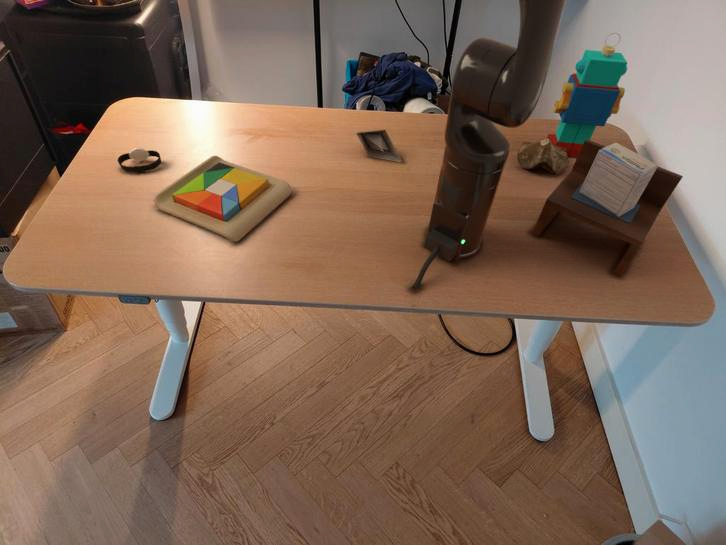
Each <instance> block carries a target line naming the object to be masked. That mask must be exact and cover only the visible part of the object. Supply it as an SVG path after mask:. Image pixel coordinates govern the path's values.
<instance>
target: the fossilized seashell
mask: <svg viewBox="0 0 726 545" xmlns="http://www.w3.org/2000/svg"><path fill="white" fill-rule="evenodd" d="M566 151H567V149H566V148H562V147H558V146H556V145H553V144H552V142H551V141H550V140H549V139H547V138H543V139H542V140H540V141H537V142H529V141H523V142H522V146H521V147H520V148H519V149H518V151H517V153H516V159H517V161H518V164H519V166H521V168H523V169H525V170H532V169H537V168H540V167H542V168H543V169H545V170H546V171H548V172H549V173H551V174H555V175H558V174H561V173H563V172H564V171H565V170H566V169H567V168H568V166H569V163H570V161H569V156H567V153H566Z"/></svg>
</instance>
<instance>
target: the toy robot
mask: <svg viewBox="0 0 726 545" xmlns="http://www.w3.org/2000/svg"><path fill="white" fill-rule="evenodd" d="M615 34H616V35H618V36H619V38H621V35H620V33H618V32H612V33H610V34H609V35H608V36H607V37H606V38H605V39H604V46H603V47H602V49H601V50H595V49H594V50H593V49H584V52H583V55H582V57H581V59H580V60H578V61H577V62H576V64H575V71H576V72H575V73H574V72H573V73H572V74H570V75H569V78H568V80H567V81H566V82H564V83H563V85H562V89H561V93H562V94H561V97H560V98H559V100H555V101H554V103H553V105H554V108H553V109H552V113H553V114H558V115H559V117H560V121H559V124H558V125H557V129H556V131H555V133H549V134H547V136H546V139H549V140H550V141H551V142H552V144H553V145H556V146H558V147H562V148H566V149H567V151H566V153H567V156H568V157H574V158H577V157H578V155H579V152H580V150H581V148H582V146H583V143H584V141H585V140H586V139H587V140H590V141H591V139H592V136H593V134H594V133H595V129H596V127H605V125H606V124H607V122H608V120H609V118H611V116H612V115H613V114H614V115H617V114H618V113H619V110H620V104H621V100H622V99H623V97H624V95H625V91H626V89H625V87H619V85H618V84H619V83H620V80H621V78H622V77H623V76H624V75H625V74H626V73H627V71H628V61H627V59H626V58H625V56H624V55H623V54H622V52H617V51H616V48H615V47H617V46H618V44H619V43H620V42H621V39H619V40H618V42H617V43H616V44H615V45H613V46H611V45H607V43H606V42H607V39H608V38H609V37H610V36H611V35H615Z"/></svg>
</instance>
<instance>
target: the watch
mask: <svg viewBox="0 0 726 545" xmlns="http://www.w3.org/2000/svg"><path fill="white" fill-rule="evenodd" d="M149 157H154V158H157V159H156V160H155V161H153V162H152V163H149V164H144V165H134V166H127V165H123V163H124V162H126V161H128V160H134V161H139V162H141V161H142V162H143V161H146V160H147V159H148V158H149ZM161 158H162V157H161V154H160V153H159V152H158V151H157V150H153V149H152V150H147V149H146V148H143V147H135V148H133V149H131V150H130V152H127V153H124V154H121V155H119V156H118V158H117V163H118V164H119V167H120V168H121V169H122V170H123V171H125V172H127V173H135V174H136V173H137V174H140V173H145V172H149V171H152V170H154V169H156V168H158V167H159V166H160V165H161V164H162V159H161Z"/></svg>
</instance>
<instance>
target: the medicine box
mask: <svg viewBox="0 0 726 545" xmlns="http://www.w3.org/2000/svg"><path fill="white" fill-rule="evenodd" d="M605 146H606V147H604V148H602V149H600V150H599V152H598V154H597V156H596V158H595V160H594V162H593V165H592V167H591V169H590V171H589V173H588V175H587V177H586V179H585V182H584V184H583V186H582V188H581V190H580V193H582V194H584V195H585V196H587V197H588V198H590V199H591V200H593V201H595V202H596V203H598V204H599V205H601V206H602V207H604V208H606V209H607V210H609V211H610V212H612V213H613V214H615V215H617V216H618V217H620V216H621V215H623V214H625V213H626V212H628V211H629V210H631V209H633V208H634V207H635V205H636V203H637V202H638V200H639V198H640V196H641V195H642V193H643V191H644V189H645V188H646V186H647V184H648V183H649V181H650V179H651V177H652V176H653V174H654V172H655V171H656V169H657V167H659V166H658V164H657V163H655V162H653V161H651V160H650V159H648V158H646V157H644V156H643V155H640V154H638V153H637V152H635V151H633V150H631V149H629V148H627V147H625V146H624V145H622V144H620V143H618V142H613V143H611V144H609V145H605Z"/></svg>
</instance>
